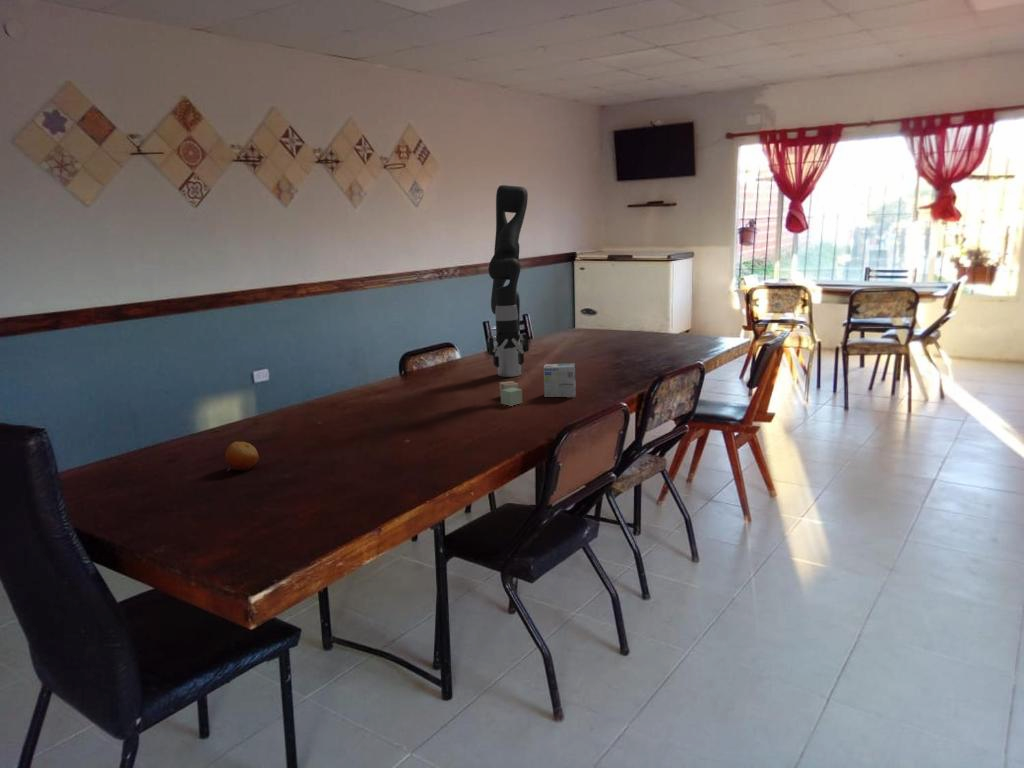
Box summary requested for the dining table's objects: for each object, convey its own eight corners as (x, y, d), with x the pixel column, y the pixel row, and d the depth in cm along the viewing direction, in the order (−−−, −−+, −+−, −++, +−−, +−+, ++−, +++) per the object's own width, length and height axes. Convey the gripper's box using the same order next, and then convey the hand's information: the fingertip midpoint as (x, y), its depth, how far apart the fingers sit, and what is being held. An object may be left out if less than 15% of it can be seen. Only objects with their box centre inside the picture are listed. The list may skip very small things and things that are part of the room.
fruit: (226, 458, 193) (239, 433, 191) (253, 473, 193) (266, 447, 192) (213, 468, 185) (226, 442, 183) (241, 483, 185) (255, 457, 184)
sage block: (501, 404, 246) (500, 389, 245) (512, 401, 249) (511, 387, 248) (511, 407, 242) (510, 392, 241) (522, 404, 246) (521, 389, 244)
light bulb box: (575, 393, 258) (575, 362, 256) (575, 397, 251) (574, 366, 249) (545, 393, 259) (544, 363, 257) (543, 398, 252) (542, 367, 250)
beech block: (500, 396, 257) (499, 382, 256) (513, 395, 259) (512, 381, 258) (505, 399, 253) (504, 385, 252) (518, 398, 255) (518, 383, 254)
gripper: (522, 315, 256) (523, 362, 259) (483, 319, 251) (485, 366, 254) (530, 317, 249) (532, 365, 253) (490, 321, 244) (493, 369, 248)
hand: (508, 365), depth 253 cm, fingers open, 8 cm apart
